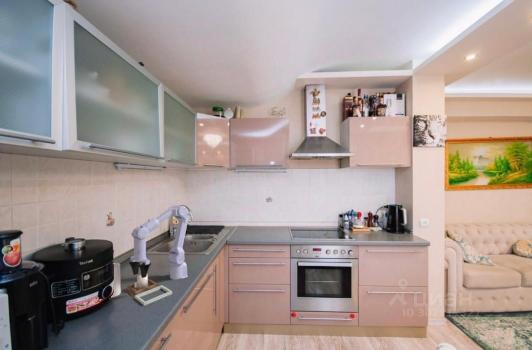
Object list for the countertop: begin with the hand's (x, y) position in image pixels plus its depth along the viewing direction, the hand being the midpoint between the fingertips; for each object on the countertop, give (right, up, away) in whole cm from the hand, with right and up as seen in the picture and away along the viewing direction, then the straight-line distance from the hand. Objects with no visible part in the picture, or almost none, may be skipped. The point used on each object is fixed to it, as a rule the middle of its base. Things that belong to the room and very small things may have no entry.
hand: (139, 275), depth 126 cm
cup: (-14, -10, -1) cm, 18 cm away
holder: (-1, -10, +4) cm, 11 cm away
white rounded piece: (-1, -9, +4) cm, 10 cm away
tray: (+10, -10, -4) cm, 14 cm away
